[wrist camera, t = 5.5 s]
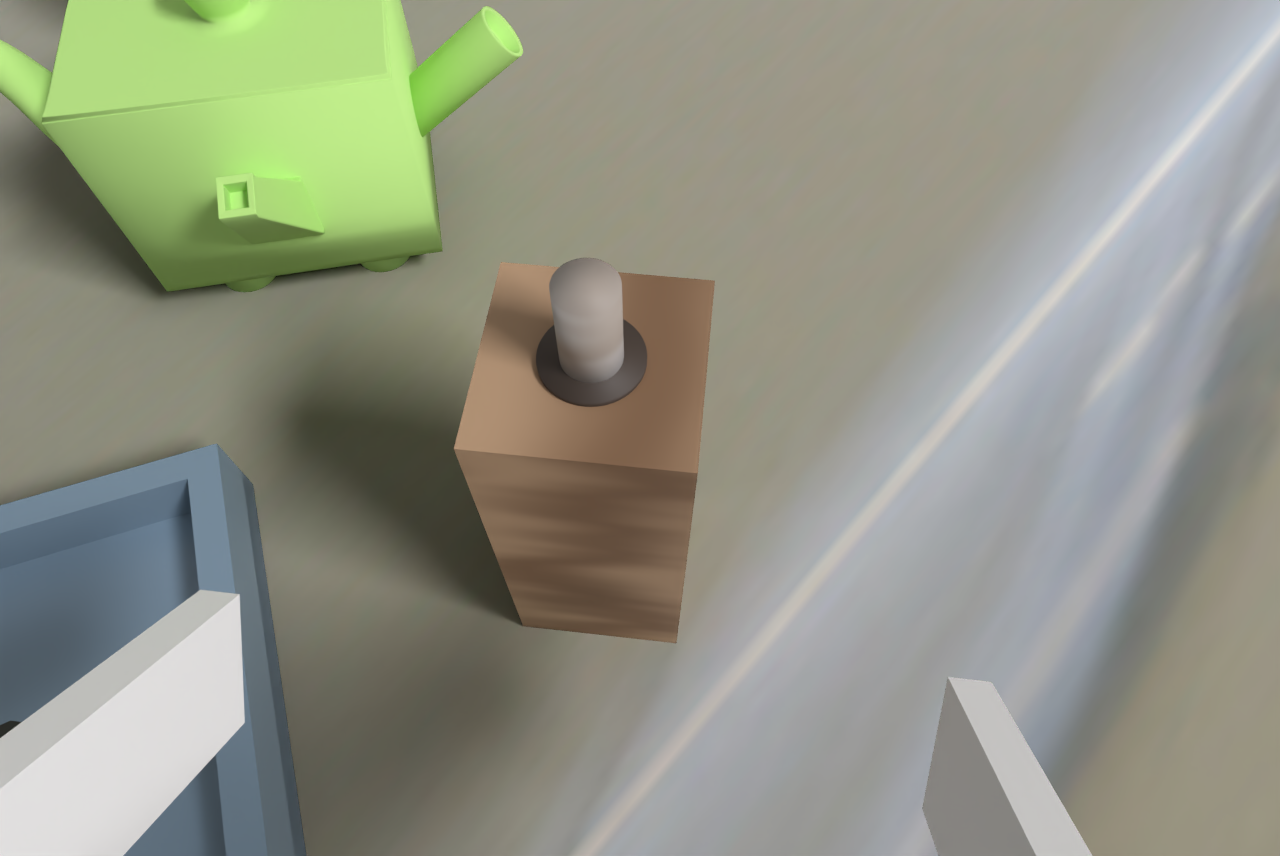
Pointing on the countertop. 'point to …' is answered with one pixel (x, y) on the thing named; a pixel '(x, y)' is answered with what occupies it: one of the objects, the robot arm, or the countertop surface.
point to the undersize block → (589, 442)
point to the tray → (135, 600)
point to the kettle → (256, 128)
